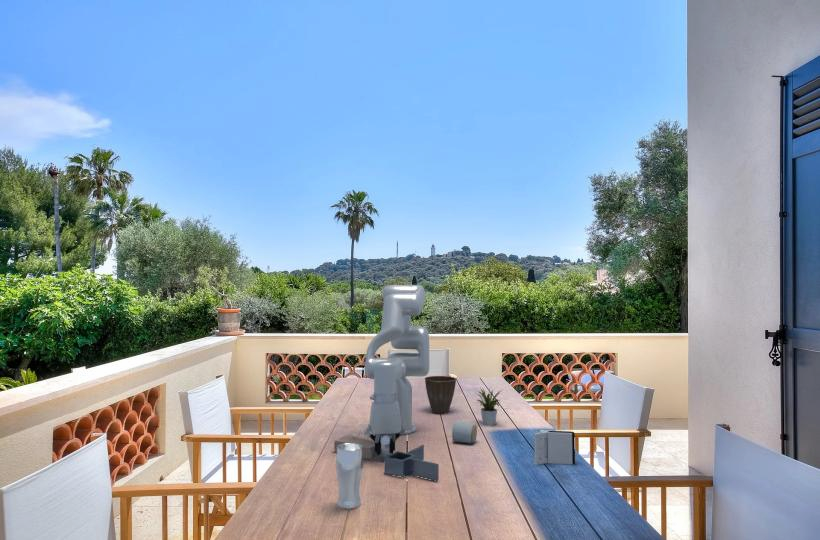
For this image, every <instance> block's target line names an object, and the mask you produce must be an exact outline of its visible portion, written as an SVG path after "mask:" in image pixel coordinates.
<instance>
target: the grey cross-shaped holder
mask: <svg viewBox="0 0 820 540" xmlns="http://www.w3.org/2000/svg"><path fill="white" fill-rule="evenodd" d="M423 460H424V461H423ZM439 467H440V466H439V463H436V462H432V461H426V460H425V445H423V444H422V445H419V446H417V447H415V448H413V449H410V450H409V451H406V452H402V451H394V452H393V454H390V455H388V456H386V457H385V462H384V474H385V475H388V474H391V475H390V476H392V475H395V476H394V477H396V476H401V477H404V476H406V477H408V476H410V475H413V476H412V477H415V476H419V477H423V478H427V479H431V480H436V481H438V480H439V475H440V474H439ZM419 477H418V478H419ZM423 478H422V479H423ZM427 479H426V480H427ZM431 480H430V481H431ZM436 481H435V482H436ZM439 481H440V480H439ZM439 481H438V482H439Z"/></svg>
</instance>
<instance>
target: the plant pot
mask: <svg viewBox="0 0 820 540" xmlns="http://www.w3.org/2000/svg"><path fill="white" fill-rule="evenodd" d="M424 381H425V382H424V383H425V388H426V389H425V391H426V395H427V399H428V402H429V406H430V409H431V412H432V413H433V414H435V413H436V415H445V413H446V414H448V413H449V411H450V408H451V405H452V402H453V398H454V396H455V395H454V394H455V389H456V384H457V378H456V377H453V376H447V375H431V376H430V375H429V376H425V378H424Z"/></svg>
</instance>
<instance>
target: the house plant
mask: <svg viewBox="0 0 820 540" xmlns="http://www.w3.org/2000/svg"><path fill="white" fill-rule="evenodd" d="M494 389H495V388H493V389H492V390H491V388H489V389H488V392H489V393H488V394H486V391H485V390H484V388H483V387H481V388H480V391H479V390H478V389H476V392H477V395H478V396H479V398H480V399H477V400H476V402H478V403H480V406H483V407H482V408H480V414H481V419H482V420H481V421H482V424H483V426H487V425H493V426H495V425H496V422H497V414H498V409H497V408H495V407H496V406H498V407H499V408H500V404H499V403H500V399H497V396H499V394H501V392H502V391H503V389H501V390H499V391H498V392H497V393H496V394H495V395H493V394H494V393H493V392H494V391H493V390H494ZM490 390H491V391H490ZM478 393H479V394H478ZM478 403H477V404H478Z"/></svg>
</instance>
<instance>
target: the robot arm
mask: <svg viewBox="0 0 820 540" xmlns="http://www.w3.org/2000/svg"><path fill="white" fill-rule="evenodd" d="M381 293H382V299H383V308H382V317H381V319H382V320H381V328H380V331H379V332H378V333H377V334H376V335H375V336H374V337H373V338H372V339H371V341H370V343H369V344H368V346H367V349H366V352H365V353H366V354H365V360H364V361H365V362H364V363H365V364H364V374H365V376H366V377H367V378H368V379H370V380H374V381H373V382H374V384H373V389H374V391H373V394H370V395H369V400H372V402H371V406H370V407H371V408H370V412H369V413H370V414H369V415H370V417H369V423H368V425H367V427H366V428H365V430H364V432H363V433H364V435H365V436H367V437H369V439H371V440H372V441H374V442H375V452H376V453H377V455H380V443H379V435H380V434H391V454H393V453H394V452H396V442H397V440H398V439H399V438H400V437H401V436H402V435H409V434H412V433H415V432H416V431H417V430H416V429H417V427H416V426H415V425H413V387H412V384H411V382H410V381H409V380H408V377H427V376H428V374H429V372H430V335H429V331H428V329H427V328H426V327H425V326H417V325H416V326H413V325H412V316H419V315H420V314H421V313H422V311H423V307H424V304H425V302H426V290H425V288H424V286H423V285H421V284H391V285H386V286H384V287H383V288H382V292H381ZM388 343H390V344H391V345H390V346H392V349H396V350H408V351H409V350H412V351H413V350H416V351H417V352H393V353H391V354H389V355H388V356H387V357H376V354H377V352H378V351H379V349H380V348H381V347H382V346H384V345H386V344H388Z"/></svg>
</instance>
